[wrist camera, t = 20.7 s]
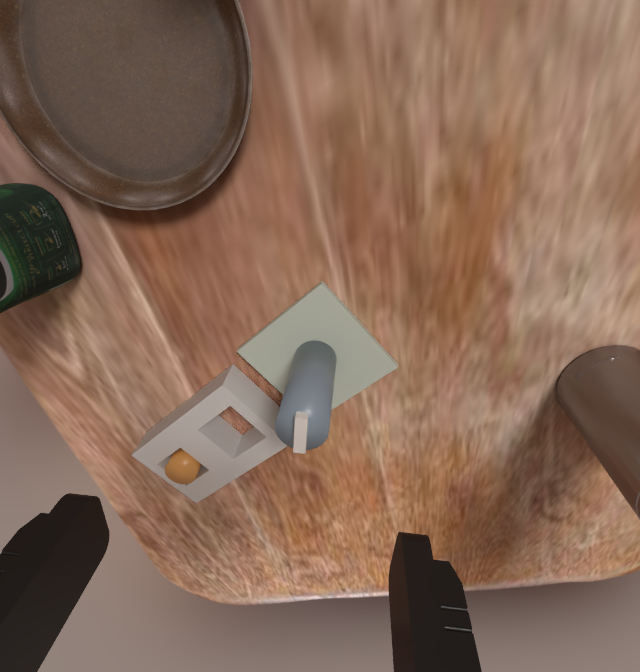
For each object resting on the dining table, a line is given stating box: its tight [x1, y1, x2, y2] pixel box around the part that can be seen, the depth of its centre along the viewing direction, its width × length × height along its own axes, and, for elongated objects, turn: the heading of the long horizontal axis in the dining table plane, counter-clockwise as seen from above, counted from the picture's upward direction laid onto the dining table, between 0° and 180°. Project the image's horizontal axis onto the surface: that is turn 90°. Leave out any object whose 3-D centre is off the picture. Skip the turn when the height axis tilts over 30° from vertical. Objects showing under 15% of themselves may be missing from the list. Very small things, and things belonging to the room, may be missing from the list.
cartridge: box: [275, 340, 337, 454], centre depth 37 cm, size 4×4×12 cm
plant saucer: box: [0, 0, 252, 210], centre depth 31 cm, size 21×21×3 cm
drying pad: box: [237, 281, 398, 410], centre depth 43 cm, size 12×12×1 cm
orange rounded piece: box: [165, 448, 202, 484], centre depth 48 cm, size 4×4×3 cm
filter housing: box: [132, 364, 287, 503], centre depth 48 cm, size 16×10×4 cm, turn 131°
